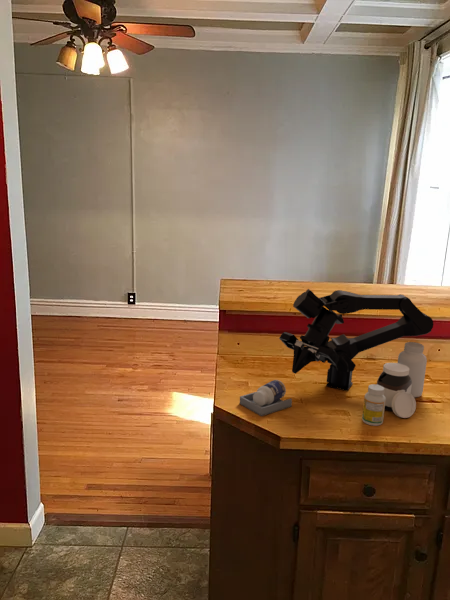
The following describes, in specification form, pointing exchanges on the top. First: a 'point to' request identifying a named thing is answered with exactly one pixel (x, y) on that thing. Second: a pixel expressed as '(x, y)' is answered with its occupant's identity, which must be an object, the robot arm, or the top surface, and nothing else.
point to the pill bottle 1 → (269, 393)
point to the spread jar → (397, 389)
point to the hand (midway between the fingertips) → (293, 372)
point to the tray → (264, 410)
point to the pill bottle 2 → (414, 365)
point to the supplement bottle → (374, 405)
